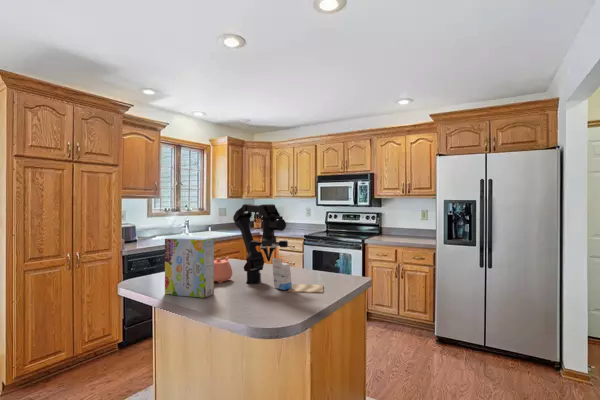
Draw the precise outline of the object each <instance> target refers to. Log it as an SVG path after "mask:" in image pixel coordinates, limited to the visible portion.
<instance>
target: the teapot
mask: <svg viewBox="0 0 600 400" xmlns="http://www.w3.org/2000/svg"><path fill="white" fill-rule="evenodd" d="M229 258H230V256H226V257H225V259H222V257H217V258H215V259H214V282H218V283H217V284H223V283H224V282H228V281H229V280H230V279H231V278H232V277H233V269H232V265H231V263H230V261H229Z"/></svg>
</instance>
